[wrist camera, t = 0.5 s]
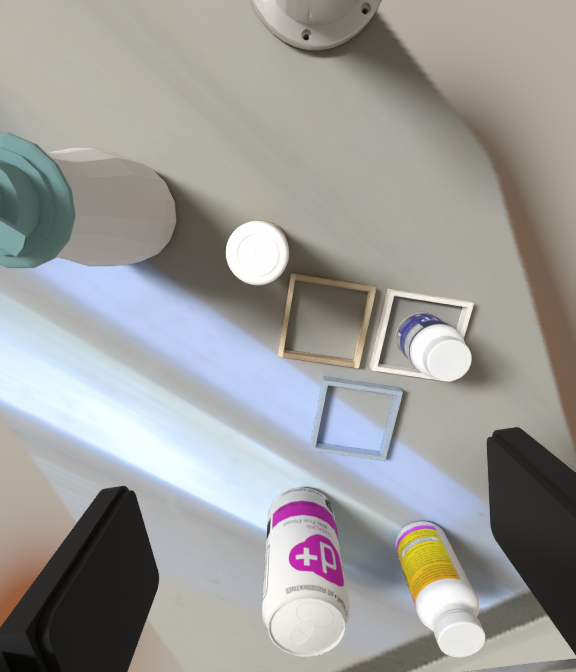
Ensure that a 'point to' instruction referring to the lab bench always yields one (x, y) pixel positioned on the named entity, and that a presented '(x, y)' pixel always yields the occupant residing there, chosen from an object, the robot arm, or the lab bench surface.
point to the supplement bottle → (440, 588)
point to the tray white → (389, 298)
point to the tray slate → (349, 450)
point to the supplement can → (304, 575)
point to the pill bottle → (433, 347)
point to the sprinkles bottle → (257, 252)
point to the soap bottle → (79, 207)
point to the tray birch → (363, 328)
